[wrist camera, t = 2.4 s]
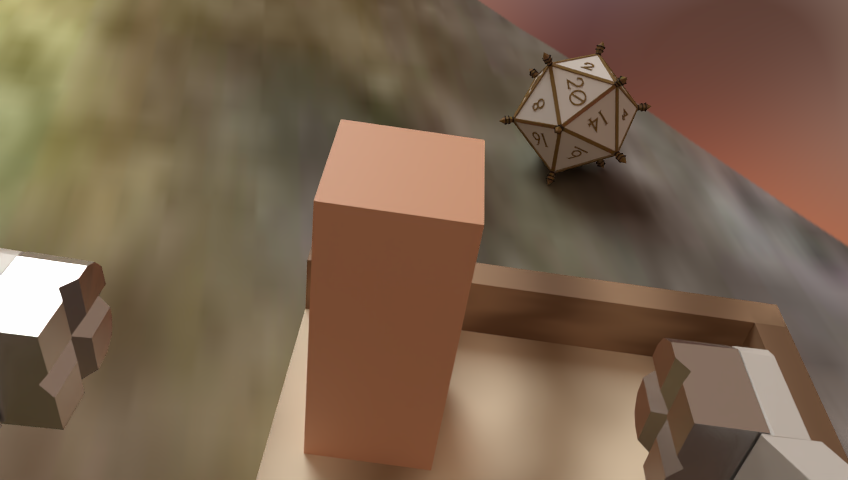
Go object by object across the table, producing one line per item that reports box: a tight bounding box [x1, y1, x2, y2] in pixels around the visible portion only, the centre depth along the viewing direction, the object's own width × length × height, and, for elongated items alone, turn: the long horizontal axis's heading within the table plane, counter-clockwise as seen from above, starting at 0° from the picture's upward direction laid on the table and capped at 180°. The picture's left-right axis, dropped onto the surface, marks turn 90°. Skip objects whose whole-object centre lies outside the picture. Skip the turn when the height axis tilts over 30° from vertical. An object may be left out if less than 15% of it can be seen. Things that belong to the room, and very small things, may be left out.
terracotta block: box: [304, 119, 485, 470], centre depth 27 cm, size 5×5×12 cm
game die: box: [500, 42, 651, 185], centre depth 48 cm, size 9×8×10 cm
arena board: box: [256, 247, 848, 480], centre depth 30 cm, size 22×14×4 cm, turn 86°
